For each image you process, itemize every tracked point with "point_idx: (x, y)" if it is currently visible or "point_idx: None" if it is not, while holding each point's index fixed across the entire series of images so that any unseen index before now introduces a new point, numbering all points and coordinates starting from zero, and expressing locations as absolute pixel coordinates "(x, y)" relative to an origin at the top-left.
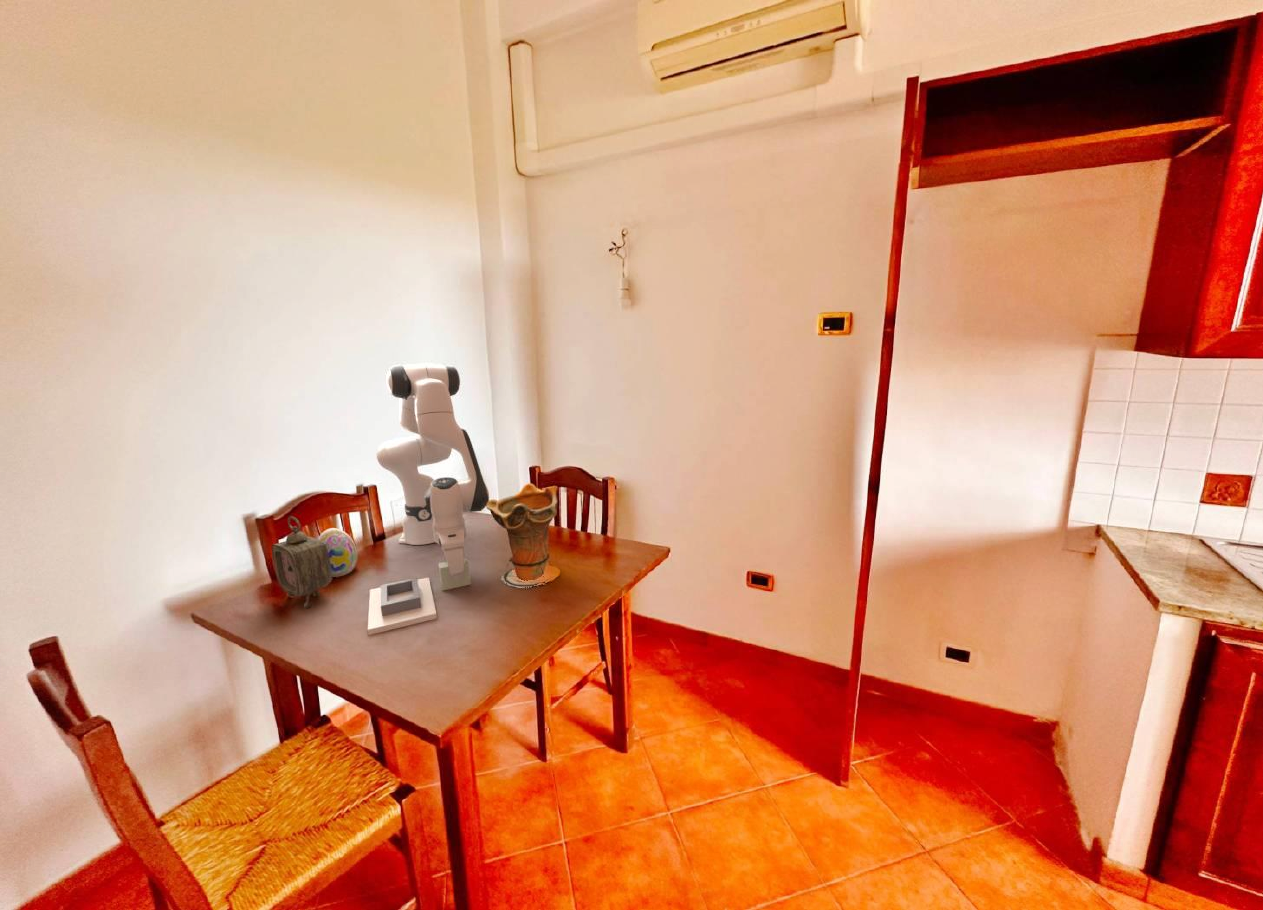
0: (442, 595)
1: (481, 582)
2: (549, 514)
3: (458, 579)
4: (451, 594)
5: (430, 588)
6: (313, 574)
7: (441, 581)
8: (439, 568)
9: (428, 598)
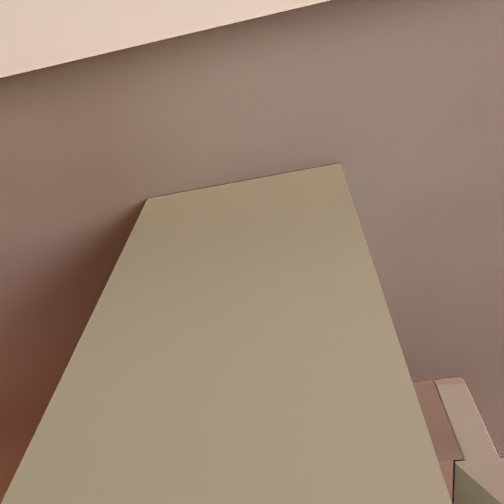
0: (4, 210)
1: None
2: None
3: None
4: (28, 300)
5: (43, 56)
6: None
7: (109, 283)
8: (192, 477)
9: None
